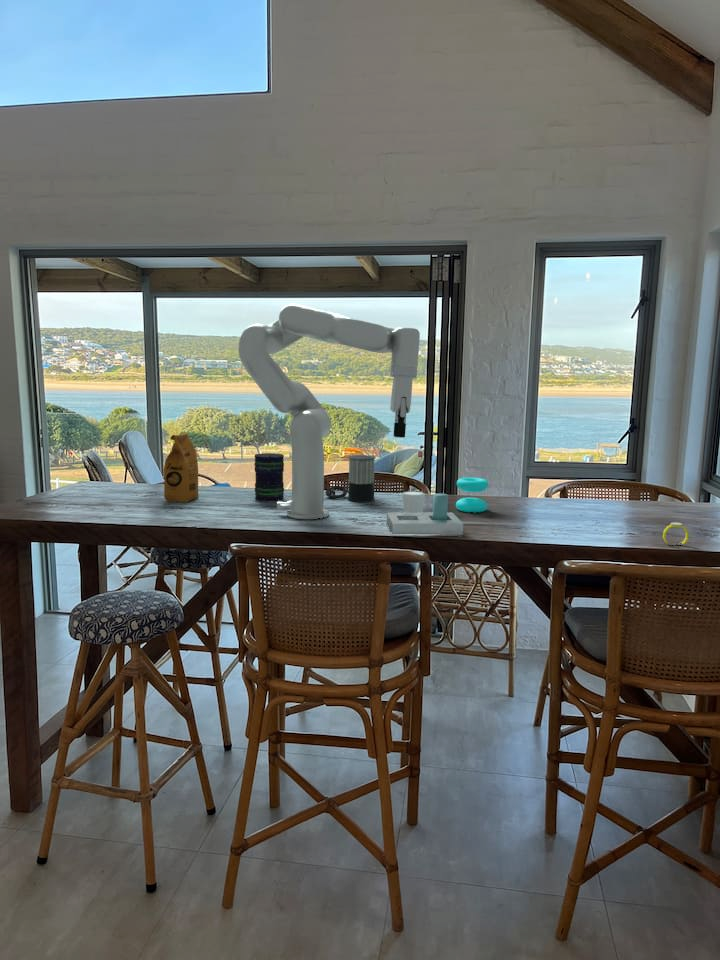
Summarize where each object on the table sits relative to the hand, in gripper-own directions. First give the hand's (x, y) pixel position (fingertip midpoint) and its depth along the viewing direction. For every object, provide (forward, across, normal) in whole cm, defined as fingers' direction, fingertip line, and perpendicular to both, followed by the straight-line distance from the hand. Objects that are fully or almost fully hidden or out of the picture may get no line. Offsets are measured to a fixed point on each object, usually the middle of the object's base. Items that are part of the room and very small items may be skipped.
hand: (399, 436), depth 193 cm
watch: (+22, +27, +71) cm, 79 cm away
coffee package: (+28, -30, -68) cm, 79 cm away
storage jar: (+27, -32, -39) cm, 57 cm away
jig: (+24, +12, +7) cm, 28 cm away
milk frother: (+26, -33, -12) cm, 44 cm away
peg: (+24, +12, +12) cm, 29 cm away
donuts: (+24, -16, +26) cm, 39 cm away
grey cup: (+25, -7, +7) cm, 27 cm away
